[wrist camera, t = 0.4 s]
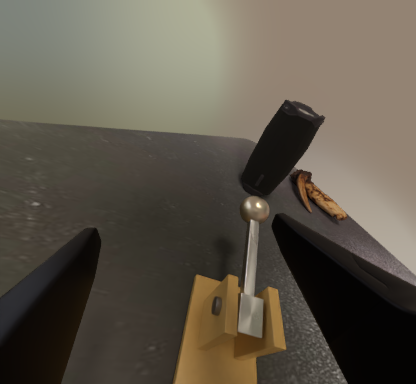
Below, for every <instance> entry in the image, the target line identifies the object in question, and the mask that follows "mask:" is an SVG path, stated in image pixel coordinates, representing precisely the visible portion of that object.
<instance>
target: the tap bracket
mask: <svg viewBox="0 0 416 384" xmlns="http://www.w3.org/2000/svg"><path fill="white" fill-rule="evenodd" d="M238 293H240V287H238V277H236V276H233V275H229V274H228V275H227V276H226V278H225V279H224V280H223V281H222V282H220V281H217V280H214V279H210V278H207V277H204V276H200V275H196V276H195V278H194V282H193V287H192V292H191V297H190V302H189V306H188V311H187V316H186V321H185V326H184V331H183V336H182V340H181V345H180V350H179V355H178V360H177V365H176V370H175V374H174V379H173V384H257V370H256V357H259V356H263V355H267V354H271V353H275V352H279V351H283V350H286V344H285V338H284V331H283V324H282V317H281V310H280V303H279V296H278V290H277V289H274V288H271V287H267V288H266V289H264V290H263V291H262V292H260V293H259V294H257V295H256V296H255V297H257V298H260V299H263V300H264V303H263V329H262V338H258V337H254V336H251V335H247V334H244V333H240V332H237V320H238Z"/></svg>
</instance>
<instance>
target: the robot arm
mask: <svg viewBox="0 0 416 384" xmlns="http://www.w3.org/2000/svg"><path fill="white" fill-rule="evenodd" d="M272 230H273V233H274V235H275V238H276V241H277V243H278V246H279V248H280V251H281V253H282V255H283V257H284V259H285V261H286V263H287V265H288V267H289V269H290V271H291V273H292V275H293V277H294V279H295V281H296V283H297V285H298V287H299V289H300V291H301V293H302V295H303V297H304V298H305V300H306V302H307V304H308V306H309V308H310V310H311V312H312V314H313V316H314V318H315V320H316V322H317V324H318V326H319V328H320V330H321V332H322V334H323V336H324V338H325V340H326V342H327V343H328V346H329V348H330V350H331V352H332V354H333V356H334V357H335V359H336V361H337V363H338V365H339V367H340V369H341V371H342V373H343V375H344V377H345V379H346V381H347V383H348V384H416V286H414V285H412V284H410V283H408V282H406V281H404V280H402V279H400V278H398V277H396V276H394V275H392V274H391V273H389V272H387V271H385V270H383V269H381V268H379V267H377V266H375V265H373V264H371V263H370V262H368V261H366V260H364V259H362V258H361V257H359V256H357V255H355V254H354V253H351V252H350V251H348V250H347V249H345V248H343V247H341V246H340V245H338V244H336V243H334V242H333V241H331V240H329V239H327V238H326V237H324V236H322V235H320V234H319V233H317V232H315V231H313V230H312V229H310V228H308V227H307V226H305V225H303V224H301V223H300V222H298V221H296V220H294V219H293V218H291V217H289V216H287V215H286V214H283V213H280V214H276V215H275V217H274V220H273V222H272ZM100 248H101V239H100V236H99V233H98V230H97V229H96V228H86V229H84V230H83V231H81V232H80V233H79V234H78V235H77V236H75V237H74V238H73V239H72V240H70V241H69V242H68V243H67V244H66V245H64V246H63V247H62V248H61V249H59V250H58V251H57V252H56V253H54V254H53V255H52V256H51V257H50V258H48V259H47V260H46V261H45V262H43V263H42V264H41V265H40V266H39V267H37V268H36V269H35V270H34V271H32V272H31V273H30V274H29V275H28V276H26V277H25V278H24V279H23V280H21V281H20V282H19V283H18V284H16V285H15V286H14V287H13V288H12V289H10V290H9V291H8V292H7V293H5V294H4V295H3V296H2V297H1V298H0V384H61V382H62V378H63V375H64V372H65V369H66V366H67V363H68V360H69V357H70V353H71V350H72V347H73V344H74V341H75V338H76V335H77V331H78V328H79V325H80V322H81V319H82V316H83V313H84V309H85V306H86V303H87V300H88V297H89V294H90V291H91V288H92V284H93V281H94V278H95V274H96V269H97V263H98V258H99V253H100Z"/></svg>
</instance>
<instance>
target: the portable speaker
mask: <svg viewBox="0 0 416 384" xmlns="http://www.w3.org/2000/svg"><path fill="white" fill-rule="evenodd" d="M324 119H325V117H324V116H323V115H322V116H319V115H318V114H316V113H315V112H314V111H313V110H312V109H311V108H310V107H309V106H306V105H305V104H302V103H300V102H296V101H293V102H290V101H289V100H285V102H284V103H283V104H282V106H281V107H280V108H279V110H278V111H277V113H276V114H275V115H274V117H273V118H272V120H271V121H270V123H269V124H268V125H267V127H266V128H265V130H264V132H263V134H262V136H261V138H260V139H259V141H258V143H257V145H256V147H255V149H254V151H253V152H252V154H251V156H250V158H249V160H248V163H247V165H246V167H245V170H244V172H243V175H242V181H243V184H244V189H245V191H246V192H248V193H250V194H251V195H253V196H258V197H259V196H261V195H268V194H270V193H271V192H272V191H273V190H274V189H275V188H276V187H277V186H278V185H279V184H280V183H281V182H282V181H283V180H284V179H285V177H286V176H287V175H288V174H289V173H290V171H291V170H292V169H293V167H294V166H295V165H296V163H297V162H298V161H299V159H300V158H301V157H302V156H303V154H304V153H305V152H306V150H307V149H308V147H309V145H310V143H311V142H312V140H313V138H314V136H315V134H316V132H317V131H318V129H319V127H320V125H321V124H322V123H323V122H324Z"/></svg>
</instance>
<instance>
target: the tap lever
mask: <svg viewBox="0 0 416 384" xmlns="http://www.w3.org/2000/svg"><path fill="white" fill-rule="evenodd" d="M240 215H241V217H242V219H243V220H244V221H245V222H246V223H247V231H246V241H245V250H244V259H243V269H242V278H241V287H240V293H238V320H237V332H240V333H244V334H247V335H251V336H254V337H258V338H262V329H263V303H264V300H263V299H260V298H257V297H254V294H255V278H256V263H257V247H258V232H259V224H262V223H263V222H265V221H266V219H267V218H268V216H269V206H268V204H267V202H266V201H265V200H264V199H262V198H261V197H258V196H251V197H248V198H246V199H245V200H244V201H243V202H242V203H241V205H240Z"/></svg>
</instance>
